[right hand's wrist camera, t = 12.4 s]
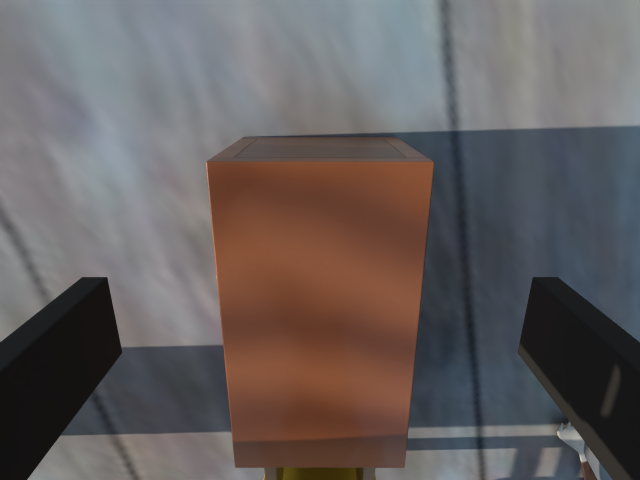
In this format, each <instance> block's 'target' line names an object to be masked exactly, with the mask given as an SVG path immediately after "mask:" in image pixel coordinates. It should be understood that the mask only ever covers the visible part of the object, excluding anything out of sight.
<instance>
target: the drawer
mask: <svg viewBox="0 0 640 480" xmlns="http://www.w3.org/2000/svg"><path fill="white" fill-rule="evenodd" d="M264 469H265V474H264V480H376V478H375V468H264Z"/></svg>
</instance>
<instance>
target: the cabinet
mask: <svg viewBox="0 0 640 480" xmlns="http://www.w3.org/2000/svg"><path fill="white" fill-rule="evenodd" d="M206 169H207V179H208V189H209V200H210V210H211V221H212V231H213V242H214V252H215V263H216V273H217V283H218V294H219V304H220V315H221V325H222V336H223V346H224V356H225V367H226V377H227V388H228V398H229V409H230V419H231V429H232V440H233V450H234V461H235V467H236V468H404V467H405V457H406V447H407V437H408V427H409V416H410V406H411V396H412V386H413V376H414V366H415V355H416V345H417V335H418V325H419V315H420V305H421V294H422V284H423V274H424V264H425V254H426V244H427V233H428V223H429V213H430V203H431V193H432V183H433V172H434V161H432V160H431V159H429V158H428V157H426V156H424V155H423V154H421V153H420V152H418V151H417V150H415V149H414V148H412V147H411V146H409V145H408V144H406V143H404V142H403V141H401V140H400V139H399V138H397V137H243V138H241V139H240V140H238V141H237V142H235V143H234V144H232V145H231V146H229V147H228V148H226V149H225V150H223V151H222V152H220V153H218V154H217V155H215V156H214V157H212V158H211V159H209V160H208V161H206Z"/></svg>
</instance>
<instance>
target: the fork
mask: <svg viewBox="0 0 640 480" xmlns="http://www.w3.org/2000/svg"><path fill="white" fill-rule="evenodd" d="M563 425H564V424H563V423H561V424H560V426H559V428H558V432H557V434H558V436H559V438H560V439H561V440H562V441H564V442H565V443H566V444H568V445H569V446H571V447H572V448H573V449H575V450H576V451H577V452H578V453H579V455H580V460H581V466H582V472H583V478H584V480H597V479H596V477H595V475H594V473H593V471H592V469H591V467H590V465H589V463H588V461H587V459H586V457H585V455H584V444H585V442H584V440H583V439H582V438H581V436H580V435H579V434H578V432H577V431H576V430H575V428H574V427H573V426H570V425H571V423H570V422H568V423H567V425H566V427H565V428H564V429H562V427H563Z"/></svg>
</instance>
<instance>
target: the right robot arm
mask: <svg viewBox="0 0 640 480" xmlns="http://www.w3.org/2000/svg"><path fill="white" fill-rule="evenodd" d="M121 353H122V349H121V344H120V339H119V334H118V329H117V324H116V319H115V314H114V309H113V304H112V299H111V294H110V289H109V284H108V279H107V277H82V278H81V279H80V280H78V281H77V282H76V283H74V284H73V285H72V286H71V287H69V288H68V289H67V290H66V291H64V292H63V293H62V294H61V295H59V296H58V297H57V298H56V299H54V300H53V301H52V302H51V303H49V304H48V305H47V306H46V307H44V308H43V309H42V310H41V311H39V312H38V313H37V314H35V315H34V316H33V317H32V318H30V319H29V320H28V321H27V322H25V323H24V324H23V325H22V326H20V327H19V328H18V329H17V330H15V331H14V332H13V333H12V334H10V335H9V336H8V337H7V338H5V339H4V340H3V341H2V342H0V480H27V479H28V478H29V476H30V475H31V474H32V472H33V471H34V470H35V468H36V467H37V466H38V464H39V463H40V462H41V460H42V459H43V458H44V456H45V455H46V454H47V452H48V451H49V450H50V448H51V447H52V446H53V444H54V443H55V442H56V440H57V439H58V438H59V436H60V435H61V434H62V432H63V431H64V430H65V428H66V427H67V426H68V424H69V423H70V422H71V420H72V419H73V418H74V416H75V415H76V414H77V412H78V411H79V410H80V408H81V407H82V406H83V404H84V403H85V402H86V400H87V399H88V398H89V396H90V395H91V394H92V392H93V391H94V390H95V388H96V387H97V386H98V384H99V383H100V382H101V380H102V379H103V378H104V376H105V375H106V373H107V372H108V371H109V369H110V368H111V367H112V365H113V364H114V363H115V361H116V360H117V359H118V357H119V356H120V355H121ZM518 353H519V355H520V356H521V357H522V359H523V360H524V361H525V363H526V364H527V365H528V367H529V368H530V369H531V371H532V372H533V374H534V375H535V376H536V378H537V379H538V380H539V382H540V383H541V384H542V386H543V387H544V388H545V390H546V391H547V392H548V394H549V395H550V396H551V398H552V399H553V400H554V402H555V403H556V404H557V406H558V407H559V408H560V410H561V411H562V412H563V414H564V415H565V416H566V418H567V419H568V420H569V422H570V423H571V424H572V426H573V427H574V428H575V430H576V431H577V432H578V434H579V435H580V436H581V438H582V439H583V440H584V442H585V443H586V444H587V446H588V447H589V448H590V450H591V451H592V452H593V454H594V455H595V456H596V458H597V459H598V460H599V462H600V463H601V464H602V466H603V467H604V468H605V470H606V471H607V472H608V474H609V475H610V476H611V478H612V479H613V480H640V342H638V341H637V340H636V339H635V338H633V337H632V336H631V335H630V334H628V333H627V332H626V331H625V330H623V329H622V328H621V327H620V326H618V325H617V324H616V323H615V322H613V321H612V320H611V319H610V318H608V317H607V316H606V315H605V314H603V313H602V312H601V311H599V310H598V309H597V308H596V307H594V306H593V305H592V304H591V303H589V302H588V301H587V300H586V299H584V298H583V297H582V296H581V295H579V294H578V293H577V292H576V291H574V290H573V289H572V288H571V287H569V286H568V285H567V284H566V283H564V282H563V281H562V280H560V279H559V278H558V277H533V279H532V284H531V289H530V294H529V299H528V304H527V309H526V314H525V319H524V324H523V329H522V334H521V339H520V344H519V349H518Z"/></svg>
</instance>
